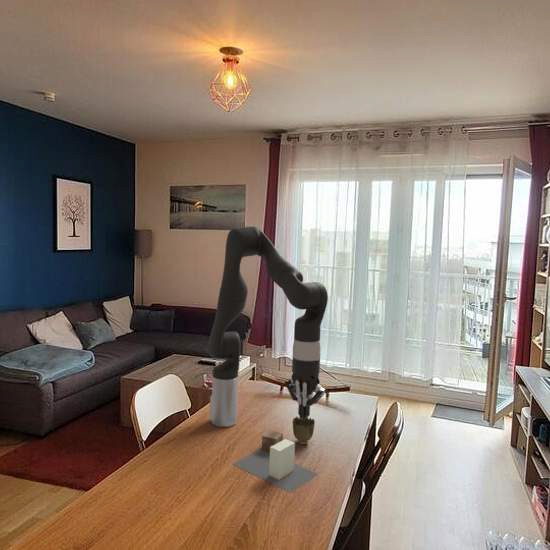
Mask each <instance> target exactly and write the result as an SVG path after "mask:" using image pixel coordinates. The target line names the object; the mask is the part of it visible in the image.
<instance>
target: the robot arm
mask: <svg viewBox="0 0 550 550" xmlns="http://www.w3.org/2000/svg"><path fill="white" fill-rule="evenodd" d="M225 242H226V243H225V253H224V266H223V273H222V279H221V285H220V289H219V294H218V299H217V306H216V310H215V311H216V312H215V318H214V322H213V325H212V329H211V330H210V331H211V332H210V335H209V339H208V353H209V356H210V357H211V358H213V359H226V360H224V361H223V362H221V363H220V364H217V365H216V366H214V367H213V369H212V384H211V385H212V389H211V392H212V393H211V395H210V396H209V399H210V400H209V421H210V422H211V424H212V425H213V426H216V427H220V428H226V427H227V428H228V427H232V426H235V425H236V424H237V423H238V396H239V395H238V394H239V392H238V391H239V369H240V359H241V358H240V357H241V337H240V335H239V333H238V332H237V331H226V330H227V329H228V327H230V325H231V324H232V323H233V322H234V321H235V320H236V319H237V318H238V317H239V316H240V315H241V314H242V312H243V311H244V309H245V307H246V304H247V303H246V302H247V299H248V287H247V286H248V285H247V284H246V281H245V280H244V277H243V276H242V272H241V264H242V263H241V262H242V259H243V258H245V257H252V256H253V257H254V256H258V257H260V258H262V259H263V260H264V261H265V269H266V272H267V275H268V276H269V278H270V279H271V280H272V281H273V282H274V283H275V284H276V285H277V286H278V287H279V288H281V289H282V291H283V294H284V295H285V298H286V299H287V300H288V302H289V304H290V305H291V306H292V307H294V308H295V309H298V310H301V311H302V310H305V312H304V314H303V315H302V316H300V317H298V318H295V319H296V320H295V321H294V330H293V331H294V333H293V334H294V335H293V344H292V356H291V357H292V360H291V361H292V364H291V371H292V374H291V377H290V378H289V379H286V380H285V381H284V384H285V387H286V388H287V390H288V393H289V395H290V396H291V398H292V401H294V402H297V404H298V407H297V408H298V416H299V417H300V418H302V419H306V418H308V419H309V417H310V416H311V415H310V414H311V413H310V412H311V406H313V405H315V404H317V403H318V402H319V401H320V400H321V398H322V397H323V396H324V395H325V394H326V393H327V389H326V388H323V387H322V385H320V384H321V383H320V378H319V375H320V371H321V369H320V368H321V324H322V322H323V319H324V316H325V313H326V309H327V306H328V300H329V297H328V296H329V294H328V290H327V289H326V286H325V285H324V284H323V283H321V282H317V281H314V282H304V276H303V273H302V272H301V271H300V270H299V269H298V268H297V267H296V266H294V265H293V264H292V262H290V261H288V260H287V259H286V258H285V257H284V256H283V255H282V254H281V253H280V252H279V250H278V249H277V247H275V245H274V244H273V243H272V241H271V240H270V239H269V237H268V236H266V234H265V233H264V232H263V231H262V229H260V228H259V227H257V226H243V227H235V228H232V229H231V230H230V231H228V234H227V237H226V241H225ZM299 417H298V418H299Z"/></svg>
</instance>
